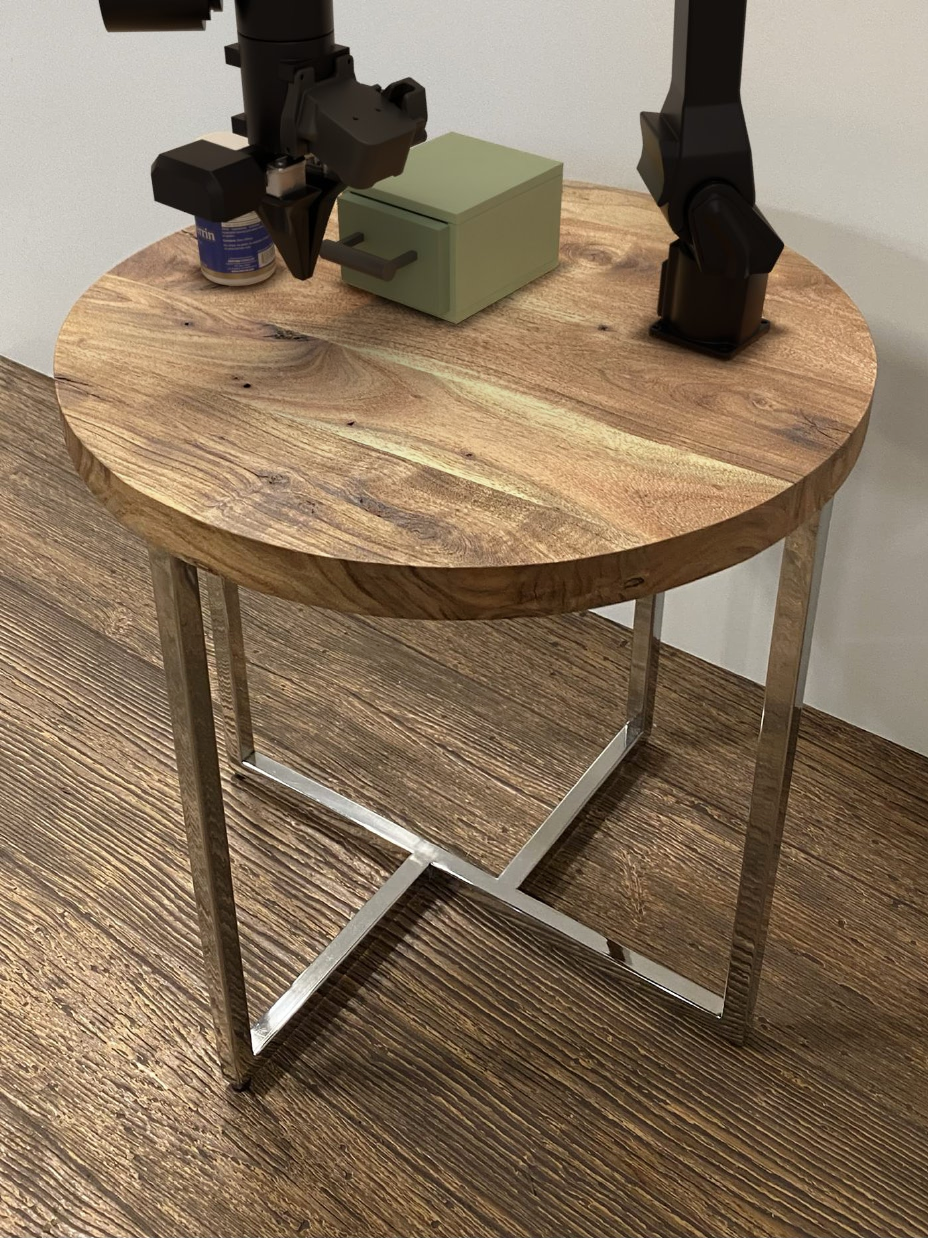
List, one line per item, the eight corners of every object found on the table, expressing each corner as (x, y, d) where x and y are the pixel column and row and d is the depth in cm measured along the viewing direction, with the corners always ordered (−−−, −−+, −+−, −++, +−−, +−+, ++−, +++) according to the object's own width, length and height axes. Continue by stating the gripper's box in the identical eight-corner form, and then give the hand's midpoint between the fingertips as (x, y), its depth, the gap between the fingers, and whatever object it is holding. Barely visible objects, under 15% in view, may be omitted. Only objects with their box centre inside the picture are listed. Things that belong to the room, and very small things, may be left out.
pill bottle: (193, 263, 101) (176, 133, 95) (264, 252, 103) (252, 123, 96) (212, 293, 97) (196, 159, 91) (286, 281, 99) (275, 148, 92)
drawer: (403, 336, 90) (401, 248, 86) (304, 298, 94) (298, 213, 90) (534, 263, 99) (538, 181, 95) (439, 231, 104) (438, 152, 100)
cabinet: (456, 324, 93) (456, 214, 88) (346, 283, 98) (341, 177, 93) (558, 266, 101) (563, 162, 96) (451, 231, 106) (451, 131, 101)
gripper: (269, 95, 67) (290, 367, 77) (490, 21, 79) (484, 266, 89) (127, 53, 73) (164, 312, 83) (354, -11, 84) (362, 223, 94)
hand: (302, 277), depth 87 cm, fingers closed
